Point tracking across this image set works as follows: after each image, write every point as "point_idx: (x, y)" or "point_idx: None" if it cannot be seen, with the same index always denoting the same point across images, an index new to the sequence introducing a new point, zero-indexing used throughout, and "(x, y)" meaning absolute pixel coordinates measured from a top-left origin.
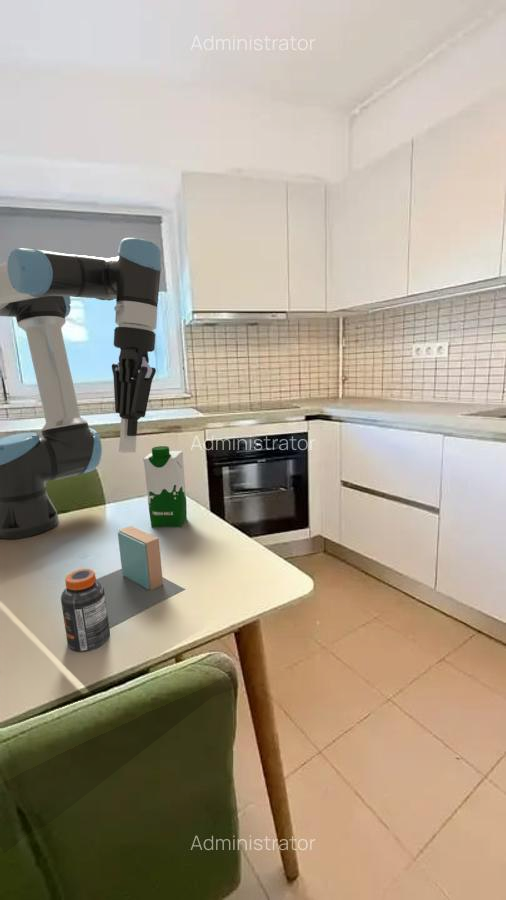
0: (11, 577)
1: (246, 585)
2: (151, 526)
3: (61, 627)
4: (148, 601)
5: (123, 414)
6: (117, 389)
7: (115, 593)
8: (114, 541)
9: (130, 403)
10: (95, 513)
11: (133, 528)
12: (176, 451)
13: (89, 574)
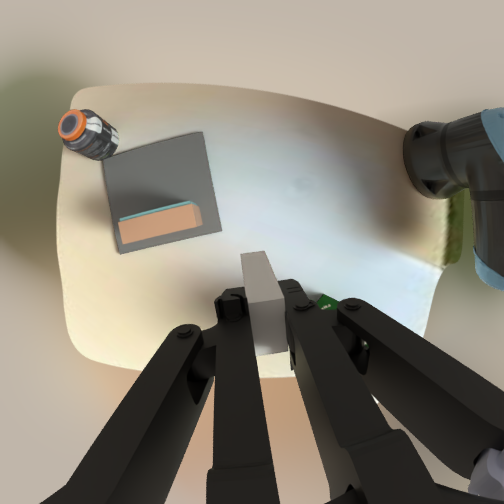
0: (297, 100)
1: (103, 313)
2: (326, 295)
3: (144, 123)
4: (120, 209)
5: (288, 316)
6: (415, 370)
7: (159, 183)
8: (322, 234)
9: (216, 364)
10: (425, 247)
11: (183, 226)
12: (376, 401)
13: (64, 132)
